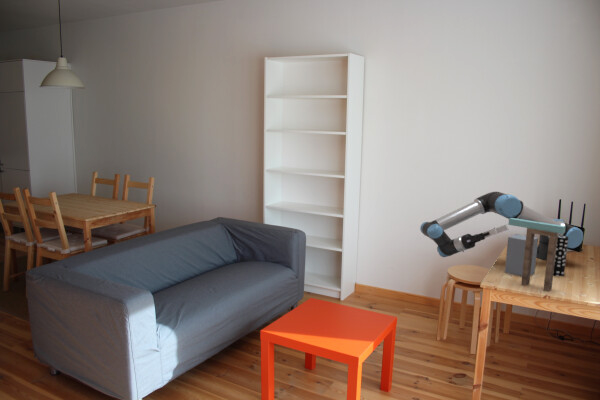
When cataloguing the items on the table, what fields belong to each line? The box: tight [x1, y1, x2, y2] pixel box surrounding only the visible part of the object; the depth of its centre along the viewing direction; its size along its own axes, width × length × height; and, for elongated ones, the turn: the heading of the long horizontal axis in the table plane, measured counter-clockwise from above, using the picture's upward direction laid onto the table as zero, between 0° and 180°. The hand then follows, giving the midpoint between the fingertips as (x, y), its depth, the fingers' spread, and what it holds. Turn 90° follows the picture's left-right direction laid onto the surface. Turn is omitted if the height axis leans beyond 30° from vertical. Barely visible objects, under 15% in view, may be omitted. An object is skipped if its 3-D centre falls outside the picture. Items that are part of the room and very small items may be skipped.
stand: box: [520, 228, 558, 292], centre depth 220 cm, size 5×12×28 cm, turn 45°
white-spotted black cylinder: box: [553, 235, 568, 277], centre depth 242 cm, size 8×8×20 cm
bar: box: [507, 218, 566, 234], centre depth 220 cm, size 4×24×3 cm, turn 45°
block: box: [504, 233, 539, 277], centre depth 243 cm, size 11×11×19 cm
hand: (501, 228), depth 231 cm, fingers open, 13 cm apart
